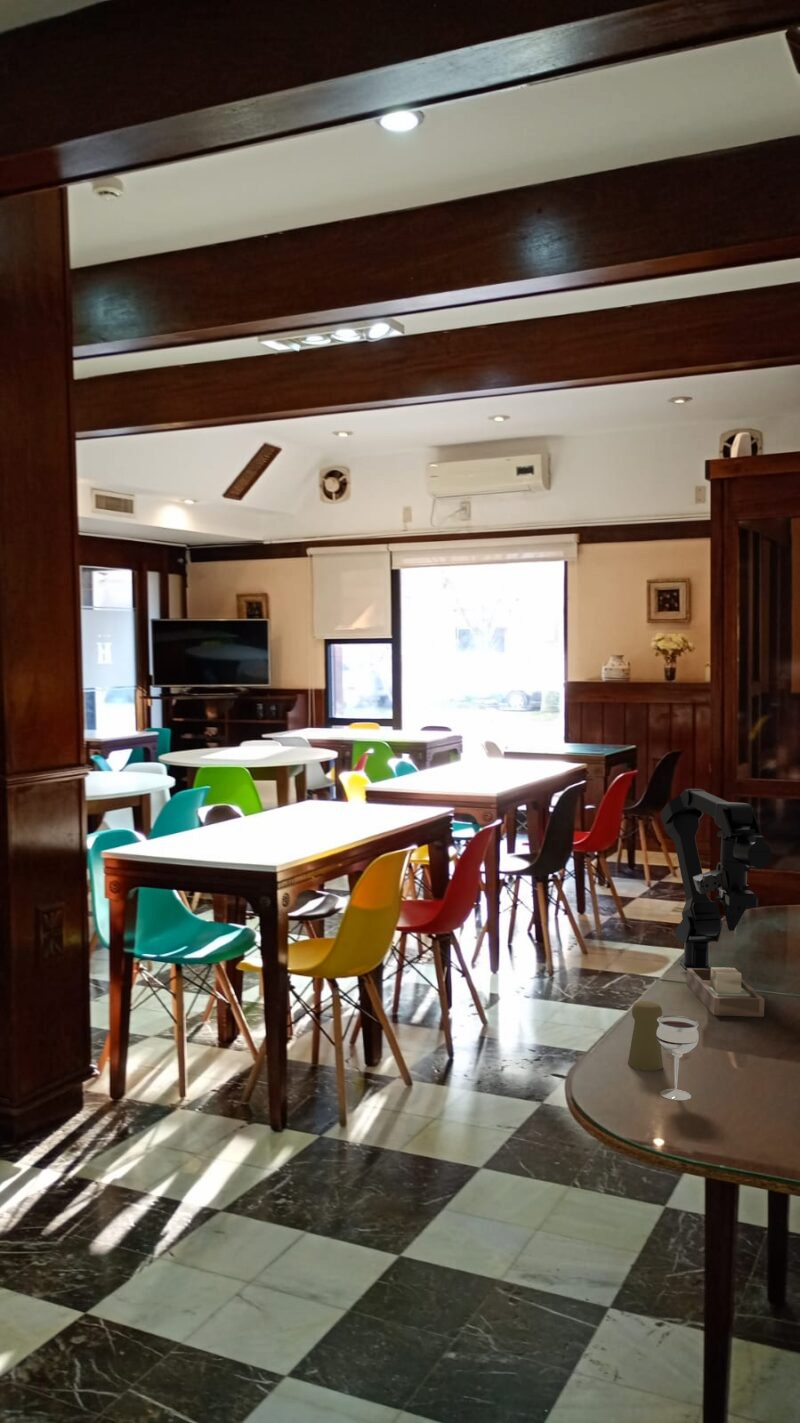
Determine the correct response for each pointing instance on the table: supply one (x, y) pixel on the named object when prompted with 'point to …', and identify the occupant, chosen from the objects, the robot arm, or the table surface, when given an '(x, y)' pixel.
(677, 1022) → the wineglass
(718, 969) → the block
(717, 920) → the robot arm
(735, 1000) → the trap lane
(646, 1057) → the cork
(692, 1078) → the table surface
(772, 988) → the table surface
